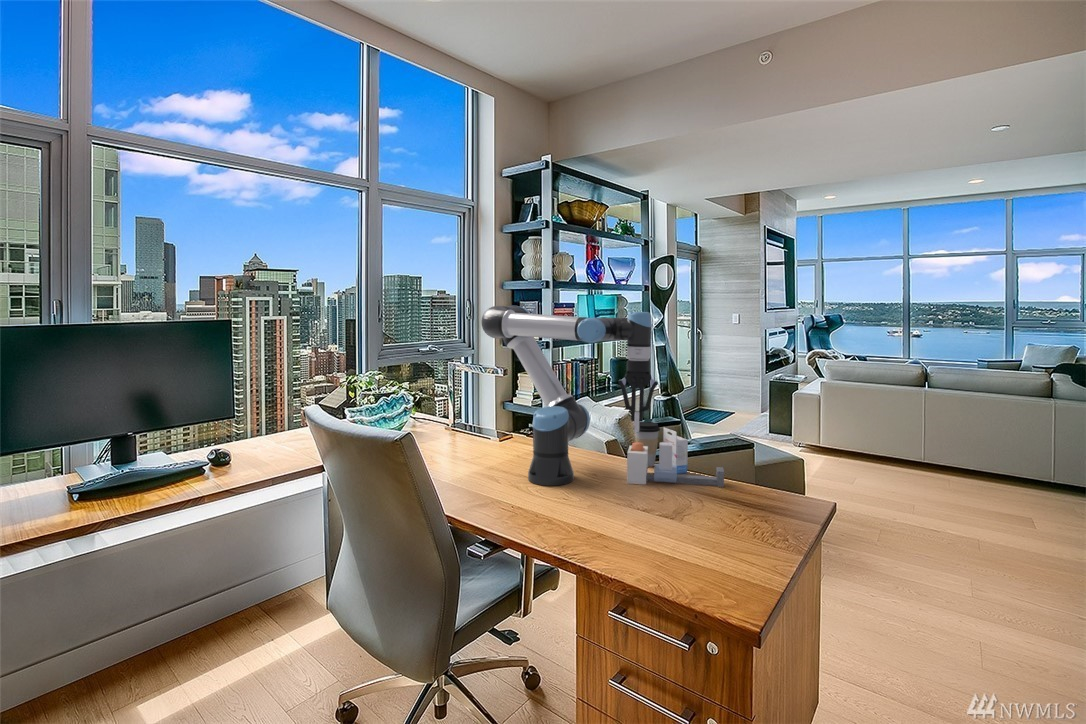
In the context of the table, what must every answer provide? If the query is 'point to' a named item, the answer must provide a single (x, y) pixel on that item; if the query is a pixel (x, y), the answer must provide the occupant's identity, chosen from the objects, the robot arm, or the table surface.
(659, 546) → the table surface
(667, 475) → the carriage
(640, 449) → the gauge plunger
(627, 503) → the table surface
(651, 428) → the coffee cup
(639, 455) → the cabinet
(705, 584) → the table surface
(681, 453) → the ink box
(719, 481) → the rail
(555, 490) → the table surface
